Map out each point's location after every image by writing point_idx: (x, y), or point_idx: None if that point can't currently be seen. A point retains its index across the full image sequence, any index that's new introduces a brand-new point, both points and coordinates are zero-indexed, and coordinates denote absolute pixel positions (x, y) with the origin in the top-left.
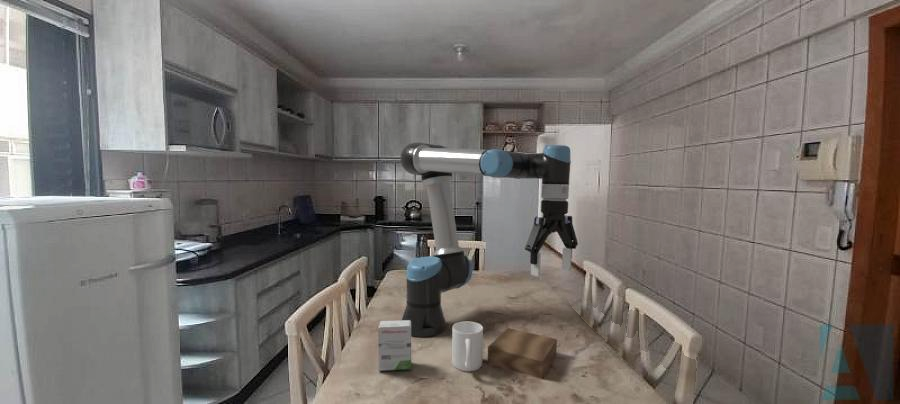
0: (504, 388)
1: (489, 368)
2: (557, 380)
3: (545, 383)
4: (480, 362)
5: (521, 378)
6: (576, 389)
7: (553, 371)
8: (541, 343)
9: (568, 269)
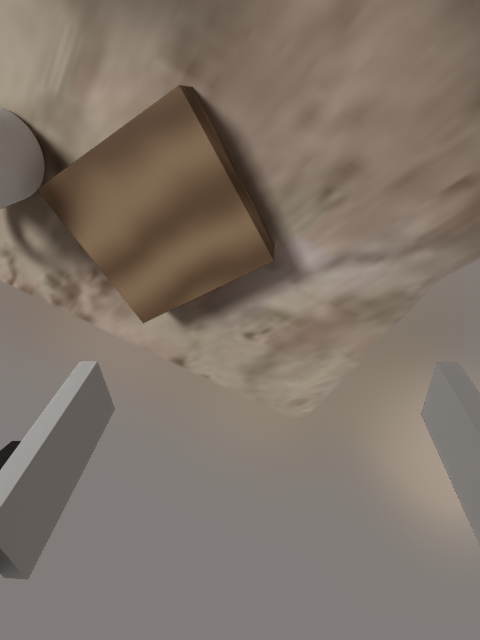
0: (61, 286)
1: None
2: (183, 320)
3: None
4: (23, 199)
5: None
6: (195, 354)
7: None
8: (208, 256)
9: (425, 415)
